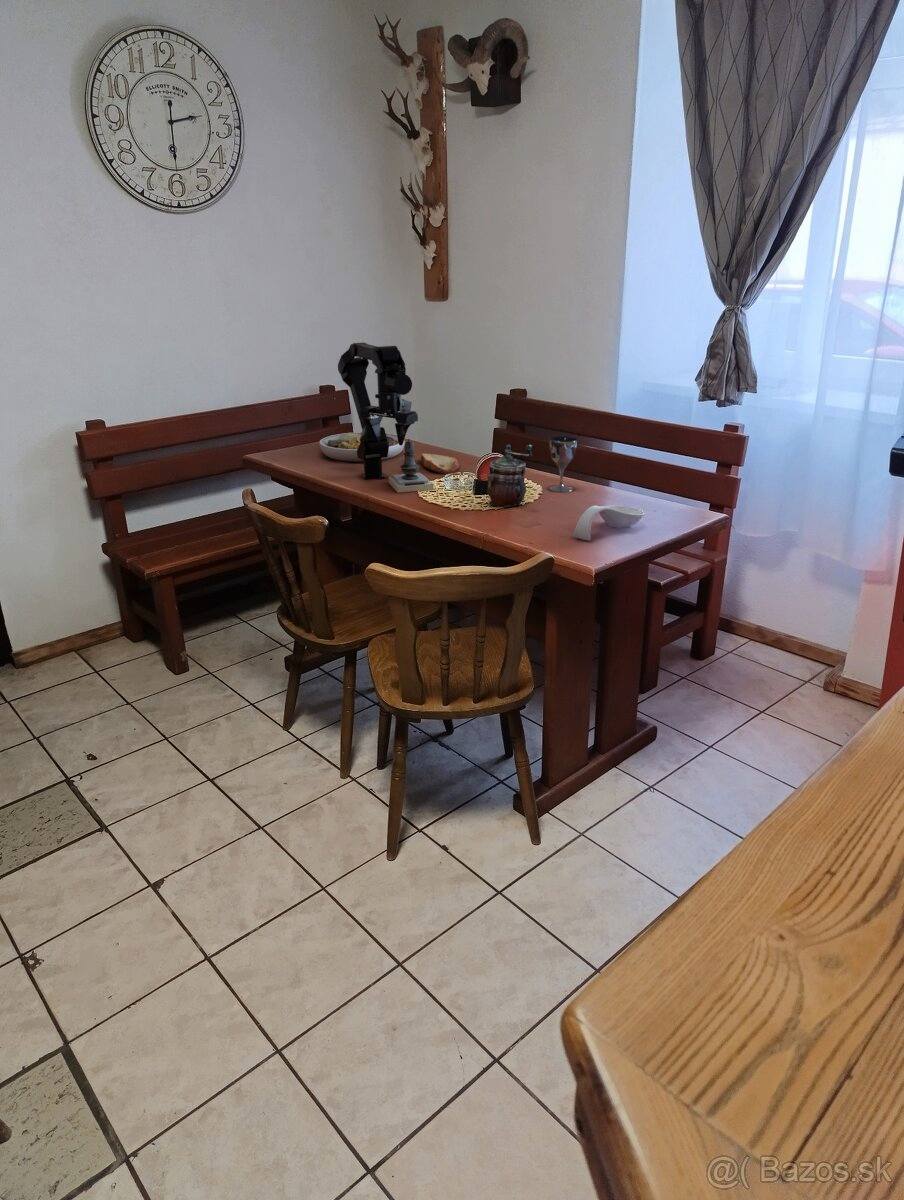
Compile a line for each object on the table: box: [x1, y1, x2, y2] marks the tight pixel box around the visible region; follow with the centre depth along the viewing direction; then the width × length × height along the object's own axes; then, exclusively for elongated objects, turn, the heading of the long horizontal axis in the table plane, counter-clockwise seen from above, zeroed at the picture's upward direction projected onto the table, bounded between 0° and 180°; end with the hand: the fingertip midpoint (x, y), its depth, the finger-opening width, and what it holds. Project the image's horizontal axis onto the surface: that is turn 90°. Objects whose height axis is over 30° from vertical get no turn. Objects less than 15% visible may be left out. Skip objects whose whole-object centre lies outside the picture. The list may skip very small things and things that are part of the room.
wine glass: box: [548, 436, 578, 493], centre depth 242 cm, size 8×8×15 cm
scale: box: [388, 472, 434, 494], centre depth 248 cm, size 12×11×3 cm
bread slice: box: [420, 453, 460, 475], centre depth 271 cm, size 18×18×4 cm
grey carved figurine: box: [399, 438, 420, 480], centre depth 246 cm, size 6×6×12 cm
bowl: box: [318, 431, 406, 463], centre depth 288 cm, size 30×30×8 cm
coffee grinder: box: [486, 444, 534, 508], centre depth 227 cm, size 13×15×18 cm
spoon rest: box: [573, 504, 645, 541], centre depth 207 cm, size 24×12×7 cm, turn 137°
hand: (389, 443), depth 245 cm, fingers open, 9 cm apart
